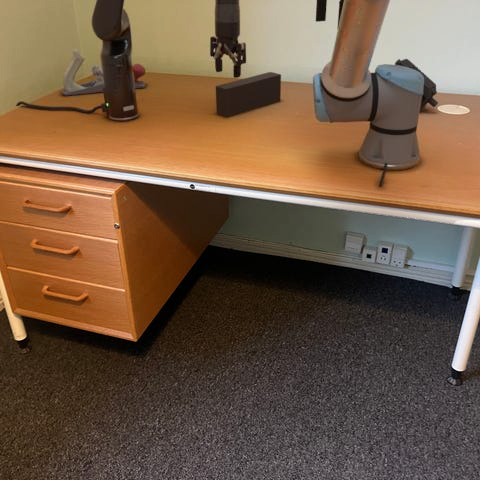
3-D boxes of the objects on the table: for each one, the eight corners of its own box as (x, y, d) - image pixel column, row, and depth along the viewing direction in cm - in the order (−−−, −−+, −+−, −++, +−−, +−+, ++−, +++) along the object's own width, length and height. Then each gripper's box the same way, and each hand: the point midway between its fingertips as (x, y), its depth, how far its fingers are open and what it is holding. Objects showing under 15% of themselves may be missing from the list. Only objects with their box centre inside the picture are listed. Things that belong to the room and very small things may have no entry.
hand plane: (62, 90, 197) (53, 48, 189) (145, 82, 205) (140, 41, 197) (62, 96, 191) (54, 53, 184) (148, 87, 199) (143, 45, 191)
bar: (270, 98, 186) (270, 71, 181) (280, 101, 182) (281, 74, 178) (216, 113, 172) (215, 86, 167) (226, 117, 169) (225, 89, 164)
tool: (377, 89, 181) (403, 52, 170) (419, 126, 177) (449, 91, 166) (368, 93, 177) (394, 56, 166) (411, 131, 173) (441, 96, 162)
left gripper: (202, 17, 160) (204, 72, 168) (233, 24, 151) (233, 81, 159) (221, 14, 164) (222, 68, 173) (253, 20, 155) (252, 77, 164)
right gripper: (303, -67, 142) (300, 18, 153) (346, -63, 122) (339, 34, 133) (329, -68, 144) (324, 16, 155) (376, -64, 124) (366, 32, 135)
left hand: (227, 74), depth 166 cm, fingers open, 8 cm apart
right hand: (331, 25), depth 144 cm, fingers open, 13 cm apart
